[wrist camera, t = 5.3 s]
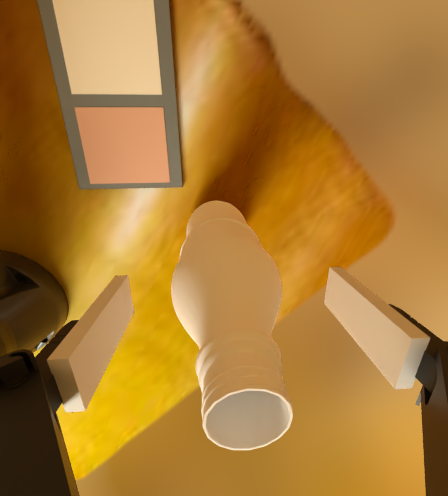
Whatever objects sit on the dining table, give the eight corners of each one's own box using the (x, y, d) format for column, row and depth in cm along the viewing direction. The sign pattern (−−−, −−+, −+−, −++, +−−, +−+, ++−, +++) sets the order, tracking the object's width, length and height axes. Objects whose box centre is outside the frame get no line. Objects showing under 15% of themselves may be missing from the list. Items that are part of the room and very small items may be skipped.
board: (82, 188, 28) (79, 189, 27) (39, -9, 22) (32, -15, 21) (182, 186, 29) (182, 187, 28) (169, -5, 23) (167, -11, 22)
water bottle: (243, 247, 32) (343, 473, 9) (192, 251, 32) (154, 498, 9) (241, 195, 30) (374, 318, 6) (185, 199, 29) (108, 345, 6)
